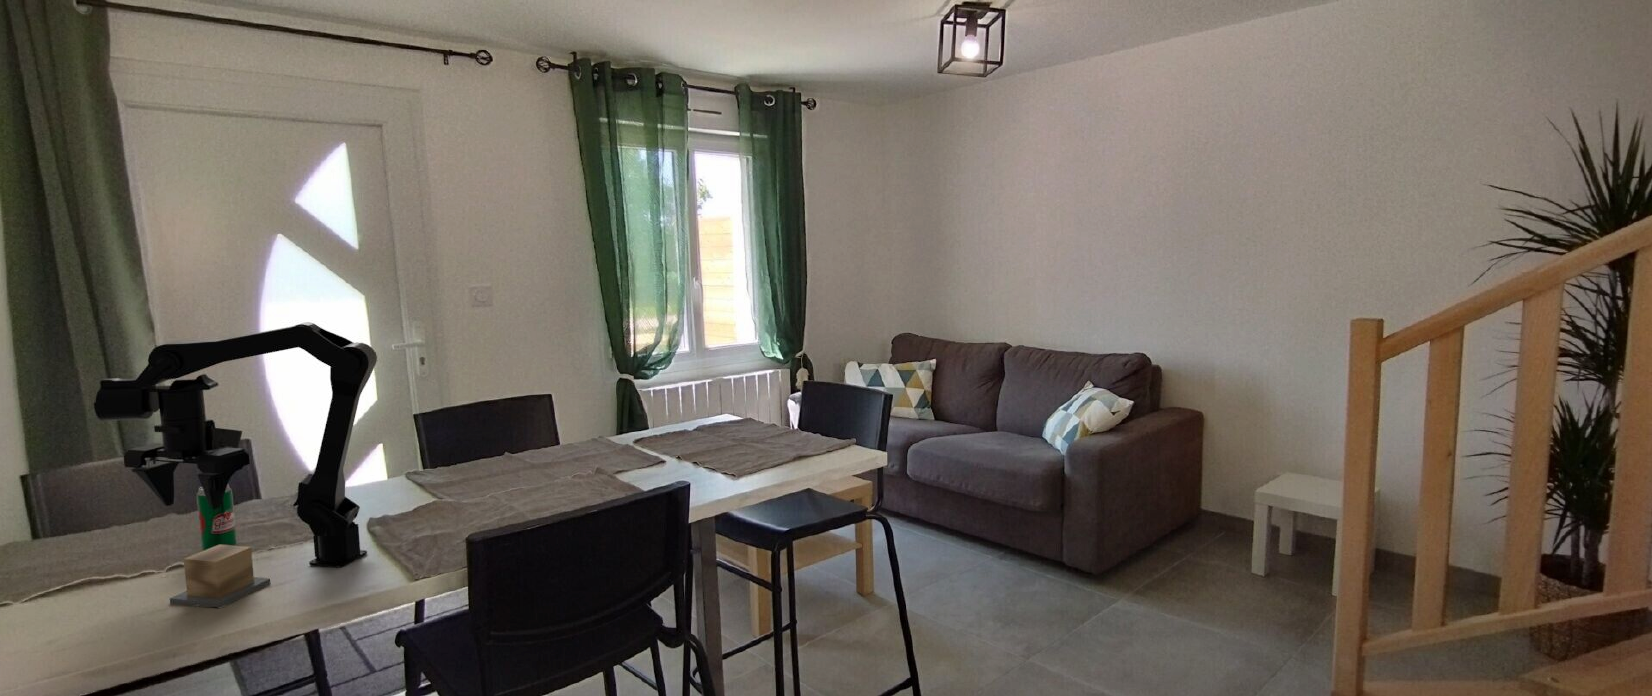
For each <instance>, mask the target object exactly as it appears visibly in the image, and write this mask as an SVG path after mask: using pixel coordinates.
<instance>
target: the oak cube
mask: <svg viewBox="0 0 1652 696" xmlns="http://www.w3.org/2000/svg"><path fill="white" fill-rule="evenodd" d="M183 566H184V567H183V568H184V575H185V576H184V577H185V584H186V585H185V586H186V591H187V595H193V596H202V597H212V598H221V597H223V596H225V595H228V594H230V593H232V592H234V591H236V590H238V589H240V588H242V587H244V586H246V585H248V584H251V583H253V582H254V577H255V576H254V567H253V555H252V547H251V546H241V545H240V546H239V545H235V546H232V545H221V544H219V545H217V546H214V547H212V548H209V549H207V550H204V551H203V550H202V551H200V552H197V553H194V554H192V555H190V556H188V557H185V558H183Z"/></svg>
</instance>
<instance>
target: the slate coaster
mask: <svg viewBox="0 0 1652 696" xmlns="http://www.w3.org/2000/svg"><path fill="white" fill-rule="evenodd" d="M270 584H271V578H267V577H257V576H254V582H253V583H251V584H248V585H246V586H244V587H242V588H240V589H238V590H236V591H234V592H232V593H230V594H228V595H225V596H223V597H221V598H212V597H202V596H193V595H187V590H185V591H183V592H181V593H178V594H176V595H174V596H171V597H170V598H169V603H170V604H176V605H185V606H192V605H199V606H198V607H202V606H206V607H205V608H211V607H217V608H216V609H221V608H223V607H224V605H225V606H228V605H229V604H231V603H233V602H235V601H237V600H240V599H241V598H244V597H246V596H247V595H250V594H252V593H253V592H255V591H257V590H259V589H262V588H263V587H266V586H268V585H270ZM222 606H223V607H222ZM220 607H221V608H220Z"/></svg>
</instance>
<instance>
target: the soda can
mask: <svg viewBox="0 0 1652 696" xmlns="http://www.w3.org/2000/svg"><path fill="white" fill-rule="evenodd" d="M233 498H234V496H233V490H232V488H231V487H230V484H229V483H228V485H227V488H226V491H225V494H224V497H223V500H222V503H221V506H220V508H218V509H216V510H212V509H211V507H210V505H209V503H208V501H207V498H206V496H205V493H204V491H203V488H202V486H200V487H199V488H198V492H196V503H197V514H198V515H197V516H198V525H199V532H200V533H199V534H200V542H201V543H200V544H201V550H202V551H204V550H207V549H209V548H212V547H214V546H217V545H219V544H221V545H232V546H237V544H238V541H237V527H236V521H235V520H236V518H235V507H234V499H233Z"/></svg>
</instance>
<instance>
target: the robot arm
mask: <svg viewBox="0 0 1652 696" xmlns="http://www.w3.org/2000/svg"><path fill="white" fill-rule="evenodd" d="M296 348H299V349H301V350H303V351H304V352H307V353H308V354H310V355H311V356H312V357H313V358H315V359H317V360H318V361H319V362H321V363H323V364H325V365H326V366H328V367H330V369H329V371H330V374H329V376H330V377H329V378H330V379H329V380H330V386H331V387H330V388H331V393H332V394H331V398H330V399H331V400H330V404H329V409H328V413H327V418H326V421H325V426H324V430H323V435H322V439H321V442H320V443H321V444H320V447H319V453H318V458H317V462H316V466H315V471H314V472H313V473H308V474H307V475H306V476H305V477H304V478H302V480H301V481H299V483H298V487H297V498H296V500H295V502H294V503H292V504H293V505H292V506H293V507H297V508H296V515H297V517H298V518H299V519H300V520H301V521H302V522H304V523H305V524H307V525H308V527H309V529H310V530H311V532H312V533H313V535H312V536H313V548H314V550H313V551H314V558H313V559H311V560H310V561H308V562H309V563H308V564H309V566H310V565H311V566H319V567H320V566H322V567H323V566H324V567H332V568H333V567H334V568H341V567H344V566H346V565H348V564H350V563H352V562H353V561H356V560H358V559H359V558H361V557H363V556H365V555H367V554H368V550H365V549H364V550H363V549H361V542H360V529H359V528H360V527H359V524H358V523H356V522H355V521H354V520H355V519H356V518H357V517H358V514H359V511H360V509H361V506H360V505H358V504H357V503H355V502H354V501H353V500H352V499H349V498H348V497H347V496H346V480H345V472H344V467H345V462H346V458H347V454H348V449H349V445H350V440H351V438H352V437H351V436H352V433H353V428H354V423H355V418H356V415H357V411H358V405H359V402H360V401H359V400H360V397H361V394H362V392H363V391H364V389H365V387H366V385H367V383H368V382H369V380H370V377H371V375H372V373H373V371H374V369H375V366H376V365H377V361H378V355H377V352H376V351H375V350H374V349H373V348H372V347H371V346H370V345H368V344H367V343H365V342H364V343H363V342H357V341H356V342H354V341H351V340H350V339H348V338H347V337H344V336H341V335H339V334H336V333H333V332H331V331H328V330H326V329H324V328H322V327H320V326H319V325H318V324H315V323H314V322H308V321H307V322H302V323H299V324H295V325H292V326H287V327H282V328H276V329H271V330H266V331H260V332H256V333H255V332H254V333H250V334H245V335H239V336H238V335H237V336H234V337H228V338H221V339H218V338H217V339H216V338H215V339H214V338H213V339H211V338H209V339H208V338H207V339H206V338H202V339H201V338H199V339H198V338H197V339H196V338H195V339H180V340H175V341H171V342H169V343H164V344H160V345H157V346H156V347H154V348H153V349H152V350H151V352H150V353H149V355H148V358H147V363H148V364H147V366H146V367H145V368H144V369H143V370H142V371H141V372H140V374H139V375H138V376H137V377H136V378H119V377H110V378H104V379H102V380H101V379H100V381H99V385H100V388H99V389H98V390H97V393H96V396H95V401H94V402H93V409H94V413H95V415H96V417H97V418H98V419H99V420H100V421H102V422H107V421H108V422H109V421H126V420H127V421H128V420H145V419H146V420H148V419H150V418H152V416H153V414H154V413H157V412H159V417H160V424H156V425H154V426H153V428H154V429H153V430H154V432H155V433H161V435H162V443H160V442H155V443H150V444H146V445H142V446H138V447H133V448H130V449H128V450H127V451H126V452H125V454H124V455H123V463H124V464H123V465H124V468H131V472H132V473H135V474H136V475H137V476H138V477H139V478H140V479H141V480H142V481H143V482H144V483H145V484H146V485H147V486H148V488H149V489H150V490H151V491H152V492H153V493H154V494H155V496H157V498H158V499H159V500H160V501H161V503H162V504H163V505H164V507H170V506H172V505H174V503H175V481H174V480H175V478H174V473H175V470H176V469H177V468H178V466H179V464H193V465H196V466H197V467H196V468H197V469H198V470H199V472H201V473H197V474H196V475H197V478H198V481H199V483H200V485H201V487H202V488H203V491H204V493H205V496H206V498H207V501H208V503H209V505H210V507H211V509H212V510H216V509H218V508H220V506H221V503H222V500H223V497H224V494H225V491H226V488H227V485H228V484H229V482H230V480H231V478H232V477H233V475H234V474H236V473H237V471H242V470H243V469H244V468H245V466H248V465H249V466H250V465H251V459H250V452H249V451H248V450H247V449H245V448H239V447H240V443H241V439H242V435H243V430H237V429H229V428H222V427H220V428H219V427H216V423H215V421H214V420H213V419H209V418H208V419H207V417H206V407H205V396H204V391H209V390H211V389H214V388H217V387H219V382H217V381H215V380H213V379H212V378H211V377H209V376H208V375H207V374H206V373H203V374H201V375H198V376H196V378H195V379H179V378H182V377H185V376H187V375H190V374H193V373H195V372H199V371H201V370H204V369H207V368H210V367H214V366H216V365H219V364H221V363H224V362H225V363H226V362H230V361H234V360H235V361H236V360H241V359H245V358H250V357H255V356H260V355H261V356H262V355H266V354H271V353H272V354H273V353H276V352H282V351H285V350H286V351H287V350H291V349H296ZM169 380H174V381H173V382H171V385H157V384H160V383H163V382H166V381H169ZM209 451H210V452H209Z"/></svg>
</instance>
